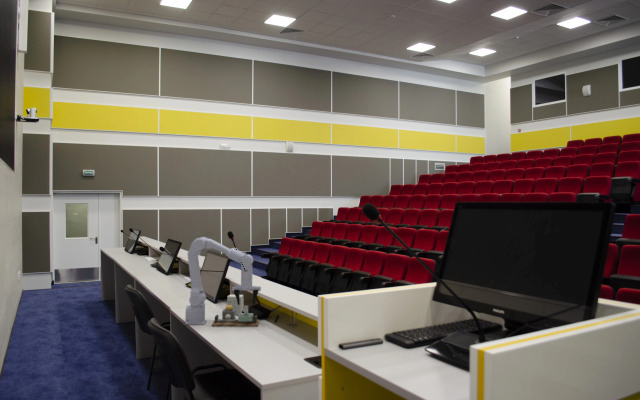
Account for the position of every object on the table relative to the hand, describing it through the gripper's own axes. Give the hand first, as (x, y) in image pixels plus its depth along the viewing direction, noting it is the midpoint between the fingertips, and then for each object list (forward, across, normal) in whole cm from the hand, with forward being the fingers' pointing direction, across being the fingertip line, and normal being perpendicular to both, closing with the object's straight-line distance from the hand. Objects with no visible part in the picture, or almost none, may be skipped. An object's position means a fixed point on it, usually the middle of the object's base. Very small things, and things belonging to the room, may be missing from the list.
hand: (246, 304), depth 235 cm
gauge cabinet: (+10, -10, +9) cm, 17 cm away
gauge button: (+5, -10, +9) cm, 14 cm away
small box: (+10, -8, +20) cm, 24 cm away
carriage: (+8, 0, 0) cm, 8 cm away
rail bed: (+10, -5, 0) cm, 11 cm away
